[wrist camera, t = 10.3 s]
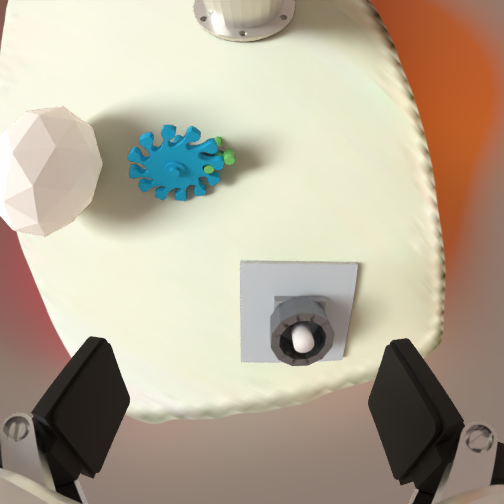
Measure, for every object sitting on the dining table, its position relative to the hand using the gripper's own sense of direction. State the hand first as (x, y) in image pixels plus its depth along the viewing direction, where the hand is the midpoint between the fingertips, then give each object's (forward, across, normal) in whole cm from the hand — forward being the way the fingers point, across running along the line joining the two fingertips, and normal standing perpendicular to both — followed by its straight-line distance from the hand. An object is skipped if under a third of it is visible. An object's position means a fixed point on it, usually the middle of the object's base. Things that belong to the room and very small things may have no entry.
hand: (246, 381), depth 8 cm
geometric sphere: (+25, +23, -8) cm, 35 cm away
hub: (+22, -5, +12) cm, 25 cm away
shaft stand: (+24, -5, +12) cm, 27 cm away
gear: (+25, +7, -6) cm, 27 cm away
